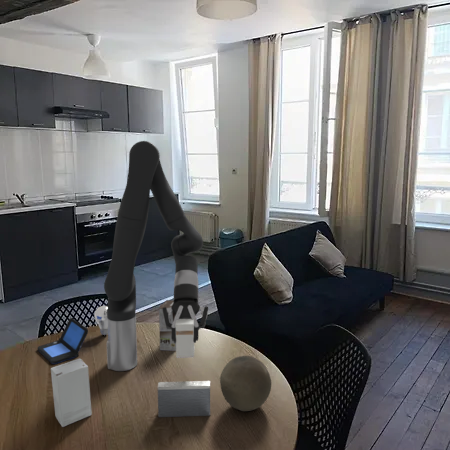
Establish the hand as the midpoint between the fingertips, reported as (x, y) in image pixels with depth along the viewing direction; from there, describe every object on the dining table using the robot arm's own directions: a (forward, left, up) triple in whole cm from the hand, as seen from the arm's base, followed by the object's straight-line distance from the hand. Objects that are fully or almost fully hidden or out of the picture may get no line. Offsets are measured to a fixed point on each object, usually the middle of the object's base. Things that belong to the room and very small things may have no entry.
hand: (185, 341), depth 116 cm
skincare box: (-30, -7, -18) cm, 36 cm away
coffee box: (-7, +35, -18) cm, 40 cm away
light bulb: (-34, +45, -18) cm, 59 cm away
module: (0, +2, -5) cm, 5 cm away
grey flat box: (0, -7, -17) cm, 19 cm away
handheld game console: (-46, +32, -18) cm, 59 cm away
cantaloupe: (+17, -6, -18) cm, 25 cm away
